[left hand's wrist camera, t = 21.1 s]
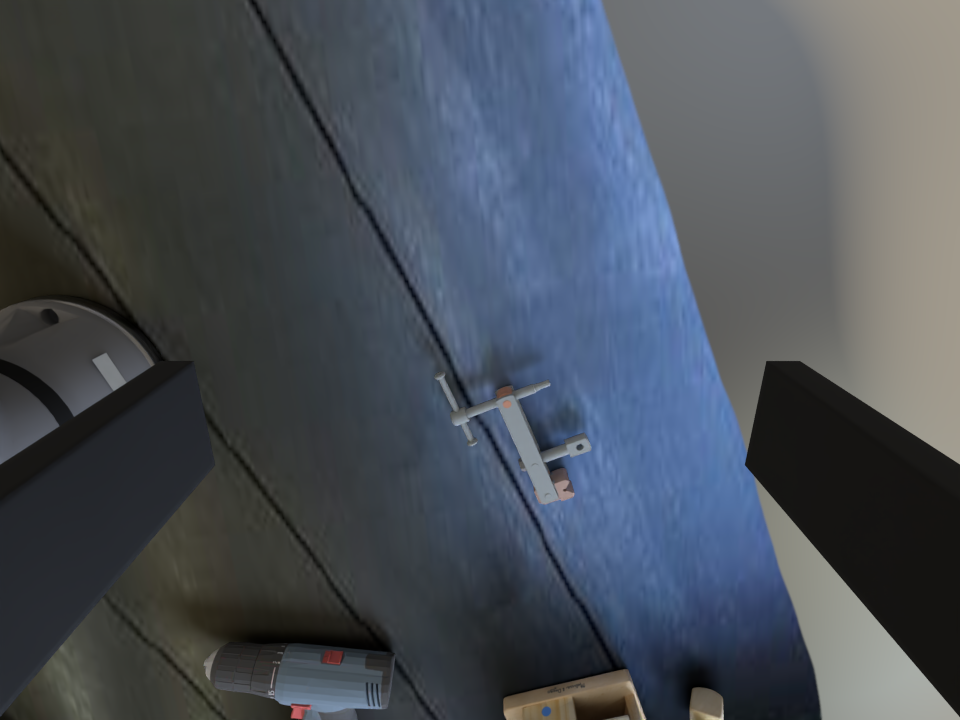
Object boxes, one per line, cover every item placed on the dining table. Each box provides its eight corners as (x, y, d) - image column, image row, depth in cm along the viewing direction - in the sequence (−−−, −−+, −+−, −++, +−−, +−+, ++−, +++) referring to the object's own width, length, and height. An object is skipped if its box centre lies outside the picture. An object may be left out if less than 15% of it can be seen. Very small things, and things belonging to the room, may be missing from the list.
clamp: (606, 486, 46) (500, 523, 48) (601, 472, 48) (499, 508, 50) (546, 335, 41) (429, 381, 43) (543, 326, 43) (432, 370, 45)
